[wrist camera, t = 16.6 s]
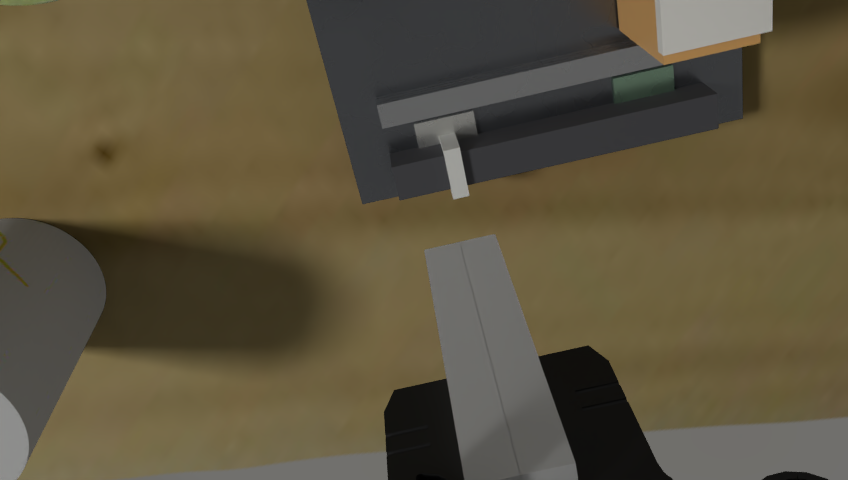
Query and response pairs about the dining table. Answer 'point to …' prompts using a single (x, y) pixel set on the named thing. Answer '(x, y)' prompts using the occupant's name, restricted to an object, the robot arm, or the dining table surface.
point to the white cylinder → (40, 328)
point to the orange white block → (693, 26)
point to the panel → (485, 71)
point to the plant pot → (24, 2)
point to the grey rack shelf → (553, 141)
